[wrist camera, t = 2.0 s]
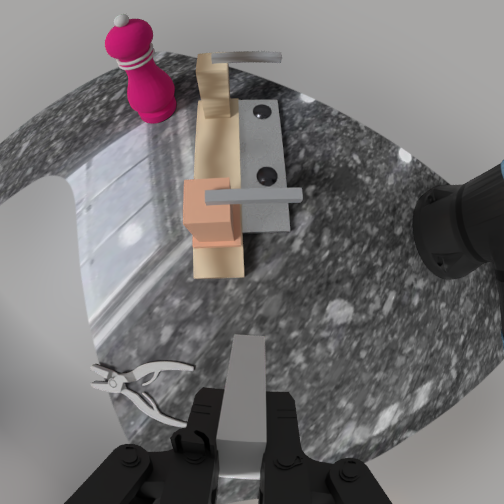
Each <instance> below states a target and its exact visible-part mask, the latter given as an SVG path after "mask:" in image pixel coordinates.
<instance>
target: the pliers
mask: <svg viewBox="0 0 504 504" xmlns="http://www.w3.org/2000/svg"><path fill="white" fill-rule="evenodd" d="M91 370H93V371H94V372H96V373H98V374H99V375H101V376H103V377H104V378H106V379H109V380H108V382H105V381H94V382H92V383H91V386H92V387H93V388H96V389H100V390H103V391H107V392H113V393H122V394H124V395H126V396H127V397H128V398H129V399H131V400H132V401H133V402H134V403H135V405H136V406H137V407H138V408H139V409H140V410H141V411H143V412H144V413H145V414H147V415H148V416H150V417H152V418H154V419H156V420H158V421H160V422H162V423H165V424H169V425H172V426H177V427H186V426H187V423H186V422H182V421H179V420H176V419H173V418H170V417H168V416H166V415H164V414H161V413H160V411H159V410H158V408H157V406H156V404H155V402H154V401H153V399H152V398H150V397H149V396H148V395H147V394H146V393H145V392H143V393H142V394H143V395H144V396H145V397H147V398H148V399H149V401H150V402H151V403H152V405H153V408H154V409H153V408H151V407H150V406H149V405H148V404H147V403H146V402H145V401H144V400H143V399H142V398H141V397H140V396H139V395H138V394H137V393H135V392H133V391H131V390H129V389H127V387H126V384H125V382H132V381H137V380H138V379H140V378H141V377H143V376H145V375H146V374H148V373H151V372H154V371H155V373H154V377H153V378H152V379H151V380H150V381H148V382H146V383H143V384H142V385H143V386H144V385H147V384H149V383H151V382H152V381H153V380H154V379H155V378H156V377H157V376H158V374H159V372H160V371H161V370H190V371H193V370H194V367H193V366H190V365H187V364H183V363H180V362H173V361H157V362H150V363H146V364H143V365H141V366H139V367H137V368H136V369H135V370H133V371H131V372H128V373H122V374H119V373H117V372H115V371H113V370H110V369H107V368H105V367H102V366H100V365H99V364H94V365H92V366H91Z"/></svg>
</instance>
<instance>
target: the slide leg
mask: <svg viewBox="0 0 504 504" xmlns="http://www.w3.org/2000/svg"><path fill="white" fill-rule="evenodd" d="M302 200H303V195H302V188H246V189H231V186H230V177H227V178H208V179H193V180H184V202H183V224H184V226H185V227H186V228H187V229H188V230H189V231H190V232H191V233H192V235H193V248H194V249H196V248H222V247H241V224H240V204H257V203H301V201H302Z"/></svg>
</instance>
